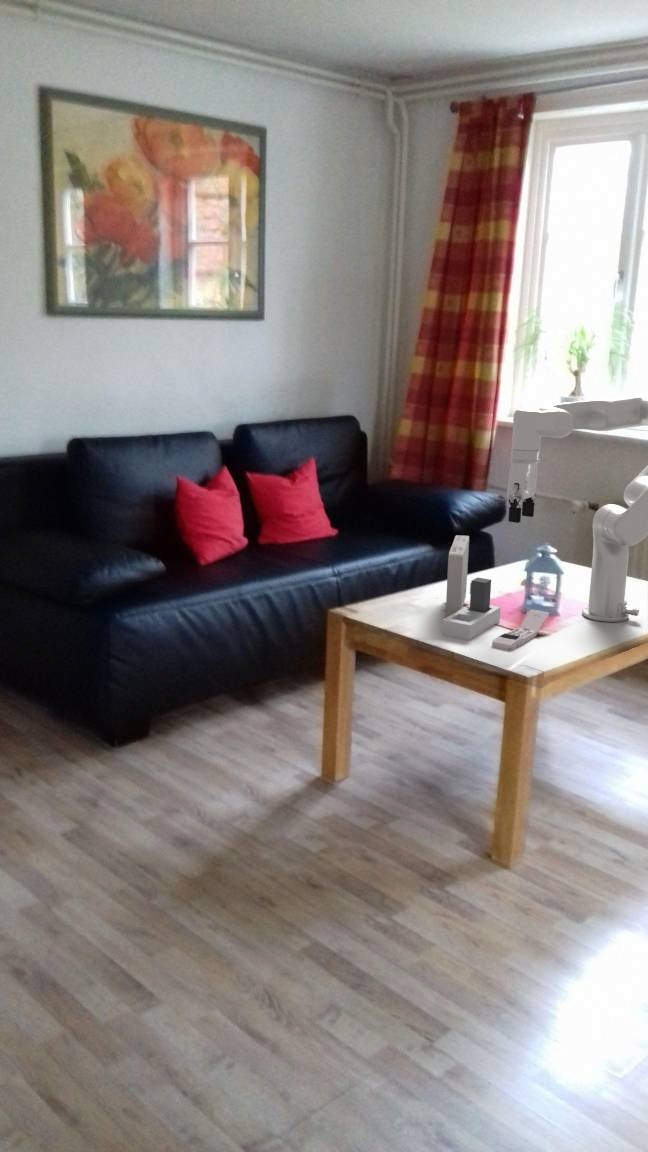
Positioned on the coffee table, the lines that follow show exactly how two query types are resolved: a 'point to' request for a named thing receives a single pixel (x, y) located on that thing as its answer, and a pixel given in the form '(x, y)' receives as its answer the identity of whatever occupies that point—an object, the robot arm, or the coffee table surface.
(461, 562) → the network device
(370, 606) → the coffee table surface
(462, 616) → the socket block
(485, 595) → the plug
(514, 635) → the mobile phone
